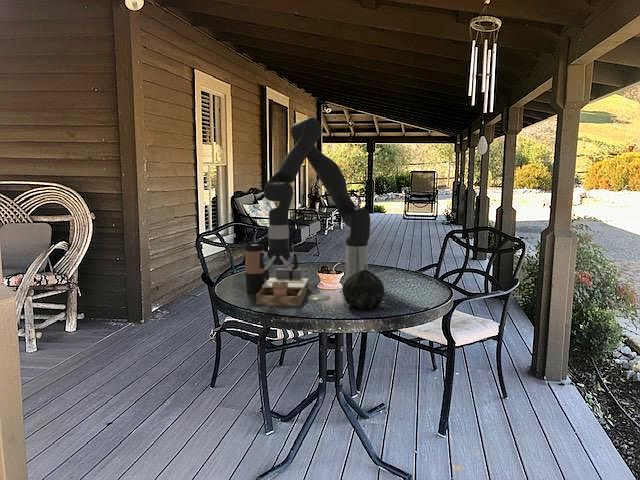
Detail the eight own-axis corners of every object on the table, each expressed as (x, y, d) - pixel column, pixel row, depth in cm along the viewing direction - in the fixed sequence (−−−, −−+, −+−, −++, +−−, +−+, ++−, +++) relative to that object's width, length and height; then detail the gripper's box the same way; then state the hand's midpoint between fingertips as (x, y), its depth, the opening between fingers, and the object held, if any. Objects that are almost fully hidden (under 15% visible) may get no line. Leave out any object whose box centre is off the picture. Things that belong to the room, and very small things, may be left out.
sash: (308, 279, 205) (308, 269, 205) (303, 288, 191) (303, 277, 190) (269, 279, 207) (269, 268, 206) (261, 287, 193) (261, 276, 192)
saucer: (331, 296, 197) (331, 294, 197) (329, 303, 189) (329, 301, 188) (308, 296, 198) (308, 294, 198) (305, 302, 190) (305, 300, 189)
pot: (289, 299, 191) (289, 281, 190) (286, 303, 185) (286, 285, 184) (274, 299, 191) (273, 281, 190) (271, 303, 186) (270, 284, 185)
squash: (362, 284, 195) (348, 259, 185) (396, 291, 186) (382, 266, 176) (345, 314, 189) (329, 290, 179) (379, 323, 179) (364, 298, 170)
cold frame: (308, 291, 206) (308, 280, 206) (299, 307, 183) (299, 295, 182) (270, 290, 208) (269, 279, 207) (256, 306, 184) (256, 294, 184)
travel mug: (242, 294, 202) (241, 245, 199) (251, 289, 209) (250, 242, 206) (259, 296, 199) (258, 246, 196) (268, 291, 206) (267, 243, 203)
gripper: (299, 235, 187) (299, 278, 190) (262, 234, 189) (262, 277, 192) (296, 238, 180) (296, 283, 183) (257, 237, 182) (257, 281, 184)
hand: (278, 280), depth 187 cm, fingers open, 8 cm apart
